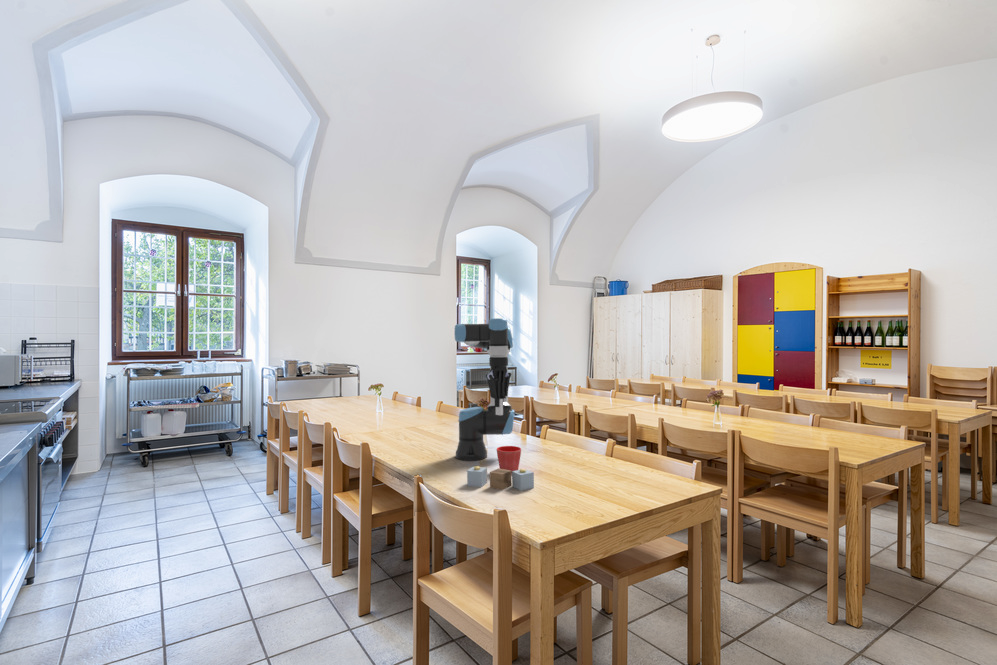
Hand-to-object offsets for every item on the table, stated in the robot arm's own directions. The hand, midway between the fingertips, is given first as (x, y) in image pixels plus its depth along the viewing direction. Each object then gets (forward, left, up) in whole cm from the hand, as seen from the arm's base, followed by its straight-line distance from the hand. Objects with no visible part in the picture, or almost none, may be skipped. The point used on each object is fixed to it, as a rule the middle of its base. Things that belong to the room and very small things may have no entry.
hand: (499, 414), depth 203 cm
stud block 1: (+10, -3, -27) cm, 28 cm away
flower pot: (-12, -6, -27) cm, 30 cm away
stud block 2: (+1, +13, -27) cm, 30 cm away
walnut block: (+6, +6, -27) cm, 28 cm away
